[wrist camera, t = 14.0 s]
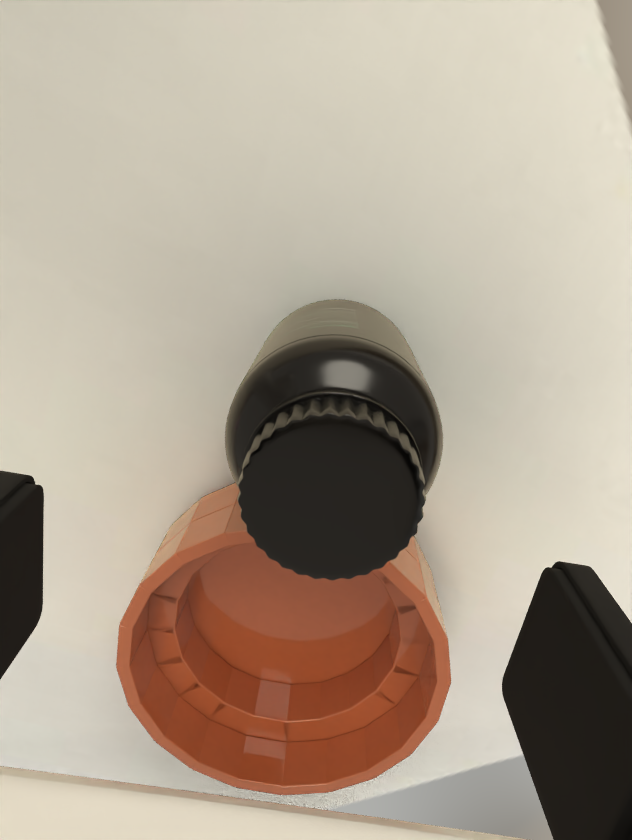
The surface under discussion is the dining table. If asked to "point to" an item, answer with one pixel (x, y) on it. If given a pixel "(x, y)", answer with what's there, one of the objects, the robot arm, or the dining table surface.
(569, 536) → the dining table surface
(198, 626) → the bowl
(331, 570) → the supplement bottle
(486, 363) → the dining table surface
